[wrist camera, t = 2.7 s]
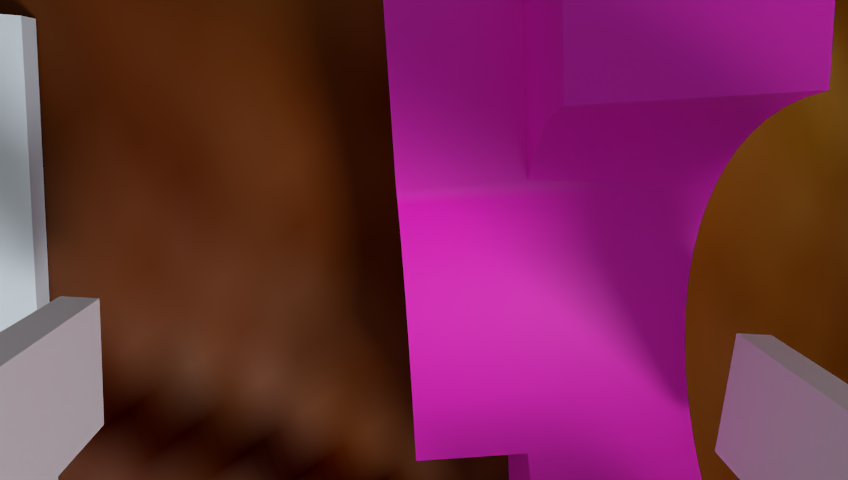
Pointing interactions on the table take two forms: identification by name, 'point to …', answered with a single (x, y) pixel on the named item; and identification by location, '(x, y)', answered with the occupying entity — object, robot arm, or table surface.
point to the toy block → (571, 212)
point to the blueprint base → (21, 175)
